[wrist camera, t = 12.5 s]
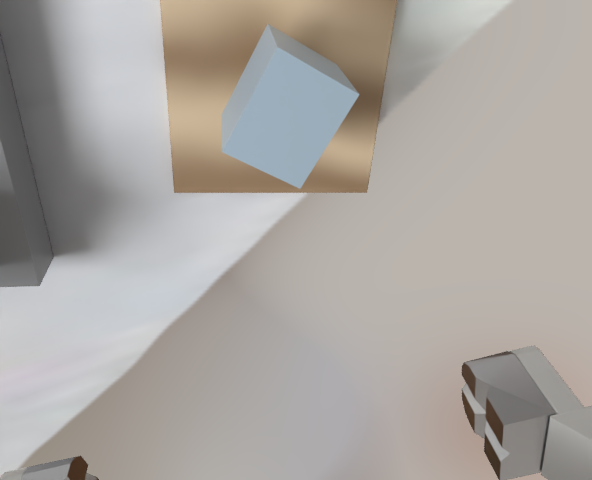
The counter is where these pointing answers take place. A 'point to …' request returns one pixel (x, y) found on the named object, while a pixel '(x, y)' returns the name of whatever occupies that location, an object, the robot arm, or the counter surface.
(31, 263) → the power strip
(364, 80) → the oak pad
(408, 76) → the counter surface
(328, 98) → the light blue block
